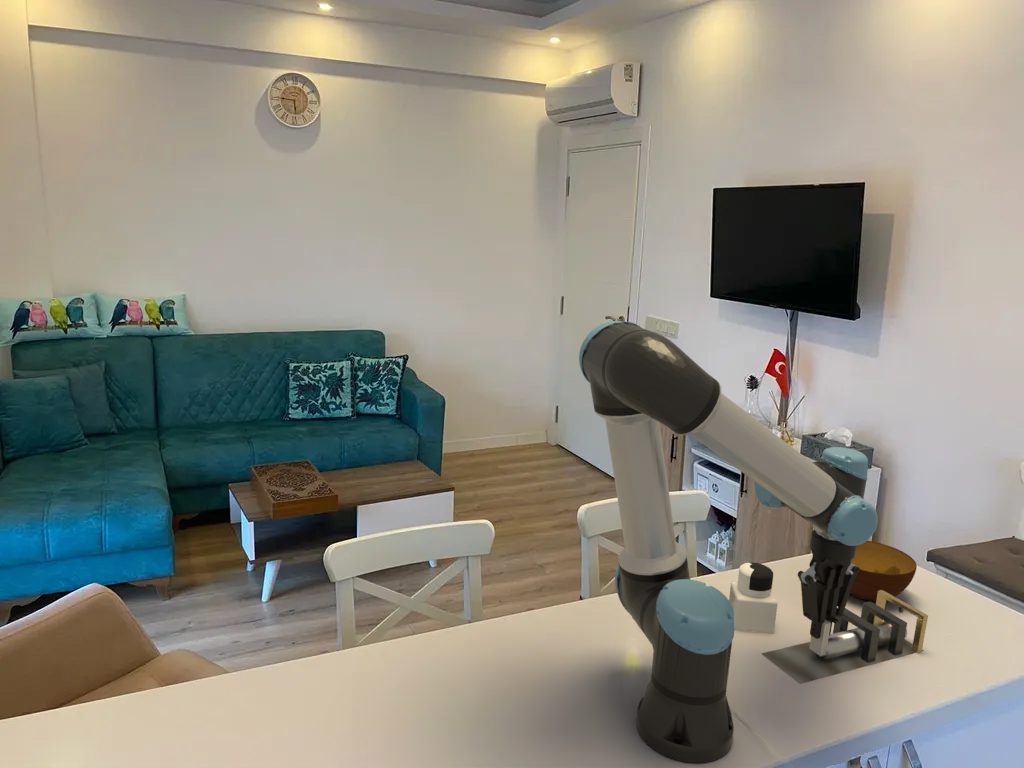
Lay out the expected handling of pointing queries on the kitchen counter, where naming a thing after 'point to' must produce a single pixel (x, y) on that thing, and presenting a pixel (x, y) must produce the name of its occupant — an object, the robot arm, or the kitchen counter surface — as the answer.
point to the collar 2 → (897, 624)
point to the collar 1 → (869, 629)
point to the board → (825, 661)
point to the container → (753, 599)
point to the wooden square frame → (921, 616)
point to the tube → (854, 640)
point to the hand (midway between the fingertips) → (817, 651)
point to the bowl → (881, 570)
